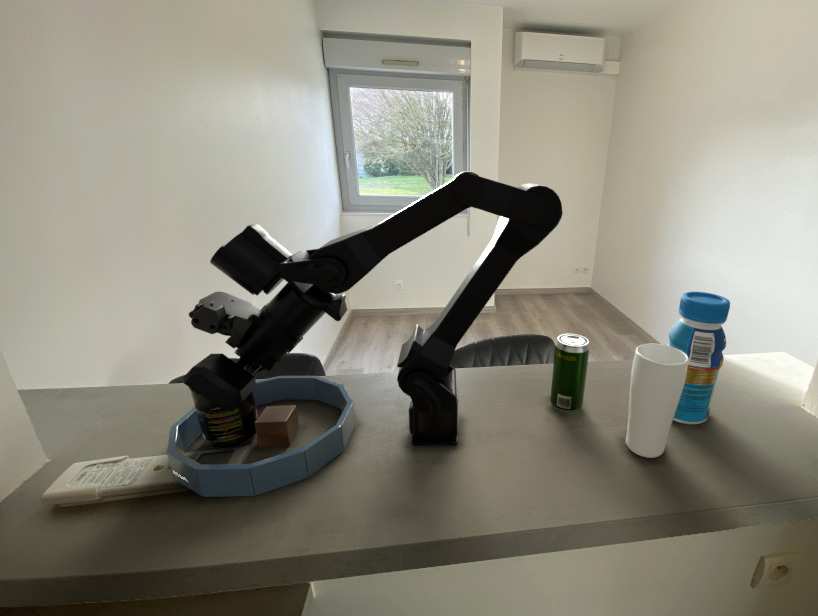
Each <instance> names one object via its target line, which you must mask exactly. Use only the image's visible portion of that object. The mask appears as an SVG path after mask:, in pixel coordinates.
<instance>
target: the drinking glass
mask: <svg viewBox="0 0 818 616" xmlns="http://www.w3.org/2000/svg"><path fill="white" fill-rule="evenodd" d="M688 362H689V358H688V356H687V355H686V354H685V353H684V352H683V351H681V350H679V349H677V348H674V347H671V346H668V345H667V344H662V343H656V342H655V343H653V342H652V343H651V342H650V343H648V342H647V343H643V344H642V343H641V344H640V345H637V346H636V348H635V352H634V355H633V361H632V366H631V373H630V382H629V383H630V384H629V397H628V411H627V412H628V413H627V428H626V435H625V444H626V446H627V448H628V449H629V450H630V451H631V452H632V453H634V454H635V455H637V456H639V457H642V458H647V459H655V458H658V457H660V456H661V455H663V454H664V452H665V450H666V446H667V445H666V444H667V440H668V438H669V434H670V430H671V427H672V424H673V419H674V416H675V412H676V409H677V406H678V403H679V400H680V397H681V394H682V391H683V387H684V384H685V379H686V374H687V368H688Z"/></svg>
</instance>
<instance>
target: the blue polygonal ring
mask: <svg viewBox="0 0 818 616" xmlns="http://www.w3.org/2000/svg"><path fill="white" fill-rule="evenodd" d="M256 384H257V387H256V388H255V389H254V390H253V394H254V399H255V404H256V407H258V406H263V405H266V404H270V403H275V402H278V401H282V400H287V401H288V400H317V401H319V402H322V403H325V404H328V405H329V406H332V407H335V408H338V409H340V410H341V415H340V417H339V418H338V420H337V423H336V424H335V425H334V426H333V427H331V428H329V429H328V430H326V431H325V432H324V433H322V434H321V435H319V436H318V437H316V438H315V439H313V440H312V441H310V442H309V443H307V444H306V445H304V446H302V447H301V448H298V449H294V450H291V451H288V452H283V453H281V454H278V455H275V456H272V457H268V458H265V459H262V460H258V461H256V462H252V463H220V464H219V463H218V464H217V463H216V464H213V463H211V464H209V463H208V464H207V463H206V464H201V463H200V462H198V461H196V460H195V459H193V458H191V457H189V456H187V455H185V451H187V450H188V448H189V447H190V446H191V445H193V443H194V442H195V441H197V440H198V439H199V437H200V436H201V435H202V432H201V428H200V425H199V421H198V417H197V413H196V410H195V406H194V405H193V407H192V408H190V410H188V412H186V413H185V414H184V415H182V417H180V418H179V419H178V420H177V421H176V422H175V423H174V424H172V425H171V426H170V428H169V434H168V440H167V442H168V443H167V448H166V456H167V458H168V461H169V465H170V469H171V471H172V470H174V471H175V472H177V473H178V474H180V475H181V476H183V477H185V478H186V479H187V480H188V481H189V483H188V482H186V481H185V480H183V479H181V478H180V477H178V476H176V475H175V474H173V473H172V476H173V479H174V481H176V482H177V483H179V484H181V485H183V486H184V487H186V488H188V489H190V490H191V491H193V492H194V493H196V494H198V495H199V496H200V497H202V498H219V497H220V498H222V497H224V498H225V497H226V498H227V497H255V496H256V497H257V496H259V495H262V494H265V493H268V492H270V491H273V490H276V489H279V488H282V487H284V486H288V485H291V484H293V483H296V482H299V481H303V480H305V479H308V478H309V477H311V476H313V475H314V474H315V473H316V472H317V471H319V470H320V469H321V468H323V467H325V465H327V464H328V463H329V462H331V461H332V460H333V459H335V458H336V457H337V456H339V455H340V454H341V453H343V452H344V451H345V449H346V447H347V445H348V442H349V441H350V438H351V436H352V434H353V431H354V428H355V427H356V419H355V417H356V416H355V408H354V407H355V406H354V401H353V399H352V398H351V396H350V394H349V393H348V391H347V389H346V387H345V386H344V384H343V383H340V382H336V381H333V380H330V379H328V378H325V377H321V376H318V375H277V376H274V377H269V378H264V379H260V380H256Z"/></svg>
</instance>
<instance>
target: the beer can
mask: <svg viewBox="0 0 818 616" xmlns="http://www.w3.org/2000/svg"><path fill="white" fill-rule="evenodd" d="M589 355H590V340H589V339H588V338H587V337H586V336H583V335H581V334H577V333H563V334H559V335H558V336H557V339H556V342H555V344H554V355H553V367H552V378H551V387H550V388H551V389H550V397H549V398H550V404H551V407H552V408H553V409H554V410H556V412H560V413H563V414H574V413H575V414H576V413H578V412H579V411H580V410H581V408H582V407H583V404H584V397H585V389H586V382H587V379H586V378H587V372H588V365H589V357H590V356H589Z"/></svg>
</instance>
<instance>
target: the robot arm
mask: <svg viewBox="0 0 818 616" xmlns="http://www.w3.org/2000/svg"><path fill="white" fill-rule="evenodd" d="M469 208H474V209H477V210H480V211H484V212H486V213H490V214H492V215H495V216H498V217H499V219H498V221H497V224H496V227H495V230H494V233H493V235H492V238H491V239H490V242H489V243H488V245H487V246H486V247H485V249H484V251H483V252H482V253H481V255H480V256H479V257H478V259H477V260H476V262H475V263H474V265H473V267H471V269H470V271H469V272H468V274H467V275H466V276H465V278H464V280H463V281H462V282H461V284H459V287H458V288H457V289H456V291H455V292H454V294H453V295H452V297H451V298H450V300H449V301H448V302H447V304H446V306H445V307H444V309H443V310H442V311H441V313H440V314H439V316H438V317H437V319H436V320H435V321H434V322H433V323H432V324H431V325H430V326H428V327H426V328H425V329H423V328H422V327H421V326H420V325H419V324H416V325H415V327H414V329H413V331H412V333H411V335H410V337H409V338H408V340H407V341H405V342H404V343H402V344H401V346H400V347H401V348H400V352H399V355H398V360H397V364H396V366H397V368H399V369H398V373H397V378H396V381H397V385H398V387H399V389H400V390H401V392H402V393H403V394H405V395H406V396H408V397H409V398H410V399H411V401H410V403H409V408H408V428H409V430H408V431H409V434H410V435H412V437H411V445H412V446H413V447H415V446H416V447H417V446H422V447H423V446H425V447H426V446H457V445H458V444H459V432H460V431H459V430H460V429H459V428H460V417H459V389H457V371H456V368H455V367H454V366H453V365H452V364H451V362H452V360H453V357H454V355H455V351H456V349H457V346H458V344H459V343H460V342H461V340H462V339H463V338H464V336H465V334H466V333H467V332H468V330H469V329H470V328H471V326H472V325H473V323H474V322H475V321H476V319H477V317H478V316H479V315H480V313H481V312H482V311H483V309H484V308H485V306H486V305H487V304H488V303H489V301H490V299H491V298H492V297H493V295H494V294H495V292H496V291H498V288H499V287H500V286H501V284H502V283H503V281H504V280H505V278H506V277H507V276H508V274H510V271H512V269H513V267H514V266H515V265H516V263H517V262H518V261H519V260H520V259H521V258H522V257H524V256H525V255H526V254H528V253H529V252H530V251H532V250H534V249H535V248H536V247H538V246H539V245H540V244H541V243H542V242H543V241H544V240H545V239H546V238H547V237H548V236H549V235H550V234H551V233H552V232H553V231H554V230H555V229H556V228H557V226H558V225H559V224H560V221H561V220H562V218H563V204H562V201H561V198H560V196H559V195H558V193H556V191H555V190H554V189H552V188H550V187H548V186H546V185H542V184H537V183H532V182H529V183H523V184H519V185H518V186H517V187H516V186H513V185H510V184H507V183H503V182H499V181H497V180H493V179H490V178H486V177H483V176H480V175H479V174H478V173H475V172H472V171H471V170H469V171H467V170H464V171H461V172H458V173H457V174H456V175H455V176H454V177H453V178H452V179H451V180H449V181H448V182H446V183H444V184H442V185H440V186H438V187H437V188H436V189H434V190H432V191H430V192H429V193H427V194H426V195H423V196H422V197H420V198H419V199H417V200H414V201H413V202H411V204H409V205H407V206H405V207H403V208H402V209H400V210H398V211H397V212H395V213H393V214H391V215H389V216H388V217H386V218H385V219H383V220H381V221H380V222H377V223H376V224H374V225H370V226H368V227H365V228H361V229H359V230H356V231H352V232H350V233H347V234H344V235H340V236H338V237H335V238H333V239H331V240H329V241H328V242H326V243H325V244H323V245H321V246H320V247H318V248H313V249H303V250H299V251H297V252H296V253H294V254H292V253H291V252H290V251H288V250H287V249H286V248H285V247H284V246H283V245H282V244H280V243H278V241H276V240H275V239H274V238H273V237H271V236H270V235H269V233H268V232H267V231H266V230H265V228H263V227H262V226H260V224H258V223H252V224H249V225H247V226H246V227H245V228H244V229H243V230H242V231H241V232H240V233H238V234H237V235H235V236H234V237H232V238H231V239H230V240H229V241H228V242H226V244H223V245H221V246H220V247H219V248H218V249H217V250H216V252H215V253H213V255H212V256H211V258H210V260H209V263H210V265H212V266H213V267H215V268H216V269H218V270H219V271H220V272H222V273H223V274H224V275H226V276H227V277H228V278H229V279H231V280H232V281H234V283H236V284H237V285H239V286H240V287H241V288H243V289H244V290H245V291H247V292H248V293H249V294H251V295H252V296H254V295H255V296H259V295H260V294H261V293H262V292H263V293H264V294H265V295H266V296H267V295H270V294H271V293H272V292H273V291H274V290H275V289H276V288H277V287H278V286H279V285H280V284H282V282H283V281H285V282H286V283H285V285H284V286H283V287H281V289H280V290H279V291H278V292H277V293H276V294H275V296H274V297H273V298H272V299H270V301H269V302H267V303H266V304H264V305H263V306H262V307H259V306H257V305H254V304H253V303H252V302H250V301H248V300H245V299H242V298H240V297H238V296H235V295H234V294H230V293H227V292H225V291H214V292H213V293H211V294H209V295H206V296H204V297H203V298H201V299H199V300H198V303H197V304H195V306H194V308H193V309H192V310H191V311H189V312H188V317H189V318H190V319H191V320H190V324H191V326H192V327H193V328H194V329H195V330H196V329H197V330H199V331H202V332H205V333H207V334H210V335H214V334H219V335H222V336H226V337H228V338H227V339H226V341H225V342H224V343H225V344H227V345H228V346H229V347H231V348H232V349H234V354H235V355H236V356H238V357H239V359H240V360H239V361H238V362H236V363H235V362H234V361H232V360H231V359H229V358H230V357H228V356H226V354H224V353H210V354H209V355H207V356H206V357H204V358H203V359H202V360H201V361H198V362H197V363H196V364H194V366H192V367H191V368H190V369H189V370H188V371H187V372H186V373H185V374H184V376H183V377H182V382H183V384H184V385H185V386H187V387H188V388H189V387H190V388H191V389H193V390H194V391H196V392H197V393H199V394H200V395H199V398H198V400H197V403H196V405H195V408H196V409H198V410H199V411H201V412H205V411H208V410H211V409H214V408H217V407H219V408H221V409H222V410H224V411H225V412H233V411H234V410H235V409H236V408H237V406H238V405H239V404H240V403H241V402H242V401H243V400H244V399H245V398H246V397H247V396H248V395H249V394H250V393H251V392H252V391H253V390H254V389H255V388H256V387H257V384H256V381H257V379H256V376H254V375H255V374H258V373H260V372H262V371H264V370H266V371H267V372H270V371H271V370H272V369H273V368H274V367H275V366H276V365H277V364H279V363H280V362H282V360H283V359H284V358H285V357H286V356H287V355H288V354H290V353H291V352H292V351H293V350H294V349H295V348H296V347H297V346H298V345H299V344H300V343H301V341H302V340H304V336H305V335H306V334H307V333H308V332H309V331H310V330H311V329H312V328H313V327H314V325H315V324H317V323H318V321H320V319H321V318H323V316H325V314H326V315H328V316H329V317H330V318H332V319H333V320H334V321H335V322H340V321H341V320H342V319H343V317H344V316H345V315H346V313H347V312H348V306H347V303H346V299H347V298H346V297H347V296H346V294H345V293H346V292H348V291H350V289H352V288H353V287H354V286H355V285H356V284H357V283H359V282H360V281H362V279H363V278H365V277H366V276H367V275H368V274H369V273H370V272H371V271H372V270H373V269H375V268H376V267H377V266H378V265H379V264H380V263H381V262H382V261H383V260H384V259H385V258H387V257H388V256H389V255H390V254H392V253H393V252H395V251H397V250H399V249H401V248H402V247H403V246H406V245H407V244H409V243H411V242H412V241H414V240H416V239H418V238H419V237H421V236H423V235H424V234H426V233H428V232H429V231H432V230H433V229H435V228H437V227H438V226H439V225H441V224H443V223H445V222H447V221H448V220H450V219H452V218H454V217H455V216H457V215H458V214H460V213H462V212H464V211H466V210H467V209H469ZM236 348H237V349H236ZM247 365H248V368H247V369H246V370H245V369H244V368H245V367H246V366H247Z"/></svg>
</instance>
